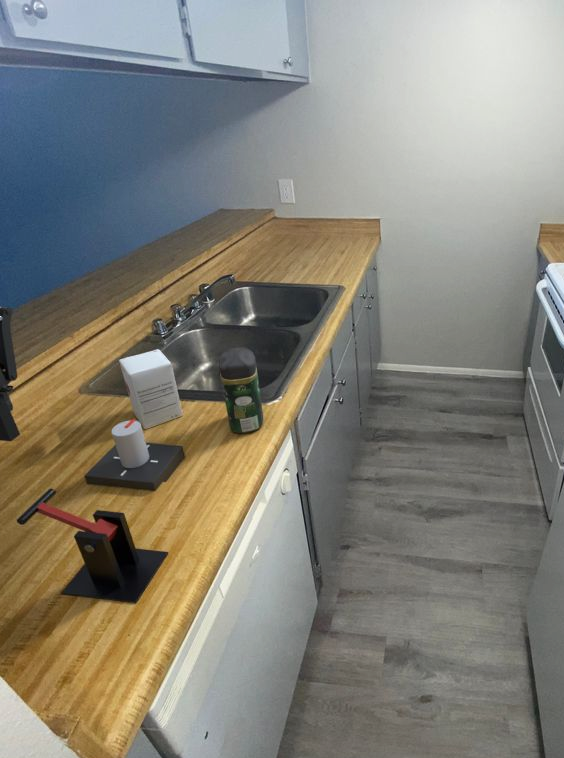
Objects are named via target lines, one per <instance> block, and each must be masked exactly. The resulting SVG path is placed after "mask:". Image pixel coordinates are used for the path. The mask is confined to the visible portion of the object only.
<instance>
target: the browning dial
mask: <svg viewBox="0 0 564 758" xmlns="http://www.w3.org/2000/svg"><path fill="white" fill-rule="evenodd" d="M111 435H112V438H113V441H114V446H115V445H116V448H117V451H118V454H119V458H120V461H121V464H122V466H123V467H125V468H136V467H139V466H141V465H143V464H144V463H146V462H147V461H148V459H149V453H148V449H147V446H146V443H147V442H146V438H145V435H144V431H143V426H142V425H141V423H140V422H139V420H136V419H134V418H133V419H130V420H125V421H121V422H119V423H117V424H116V425H115V426H113V428H112V429H111Z"/></svg>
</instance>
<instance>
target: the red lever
mask: <svg viewBox="0 0 564 758" xmlns="http://www.w3.org/2000/svg"><path fill="white" fill-rule="evenodd" d="M56 494H57V491H56V490H55V489H53V488H49V489H47V491H45V492H44V493H43V494H42V495H41V496H40V497H39V498H37V500H36V501H35V502H33V504H31V505H30V506H29V507H28V508H27V509H26V510H25V511H24V512H23V513H22V514H21V515H19V517H18V518H17V519H16V522H17V524H18V525H22V526H23V525H26V524H27V523H28V522H29V521H30V520H31V519H32V518H33V517H34V516H35V515H36V514H37V513H39V514H41V515H43V516H46V517H49V518H51V519H54V520H55V521H58V522H61V523H62V524H66V525H68V526H70V527H72V528H76V529H78V530H79V531H85V532H94V533H103V534H107V536H108V539H109V541H111V539H112V538H113V537H114V535H115V533H116V529H117V525H114V524H112V523H109V522H107V521H104V520H102V519H99V520H98V521H97V522H96V523H95V522H92V521H90V520H87V519H84V518H82V517H80V516H77V515H74V514H73V513H70V512H67V511H65V510H62V509H61V508H57V507H55V506H53V505H50V504H47V503H48V502H50V500H52V498H54V497H55V496H56Z"/></svg>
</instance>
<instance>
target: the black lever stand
mask: <svg viewBox="0 0 564 758" xmlns="http://www.w3.org/2000/svg"><path fill="white" fill-rule="evenodd" d="M92 517H93V520H94V523H95V524H96V522H97V521H98V520H99V519H102V520H104V521H107V522H109V523H112V524H114V525H117V529H116V533H115V535H114V537H113V538H112V539H111V541H109V539H108V536H107V534H103V533H94V532H85V531H83V530H78V531H77V532H76V533H75V534H74V535H73V538H74V540H75V543H76V546H77V547H78V550H79V553H80V556H81V557H82V560H83V562H84V564H83V565H82V566H81V568H79V570H78V571H77V573H76V574H75V575H74V576H73V577H72V579H70V582H68V583H67V585H66V586H65V587H64V588H63V590H62V591H61V592H60V595H63V596H71V597H78V598H87V599H94V600H104V601H111V602H121V603H130V604H137V603H138V602H139V600H140V599H141V598H142V596H143V594H144V593H145V591H146V590H147V588H148V586H149V585H150V584H151V582H152V580H153V579H154V577H155V575H156V574H157V572H158V571H159V569H160V567H161V566H162V564H163V563H164V562H165V560H166V559H167V557H168V555H169V551H163V550H154V549H145V548H136V545H135V542H134V539H133V536H132V533H131V530H130V528H129V524H128V520H127V518H126V515H125V512H121V511H120V512H119V511H108V510H100V509H96V511H94V512H93V513H92Z"/></svg>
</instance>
